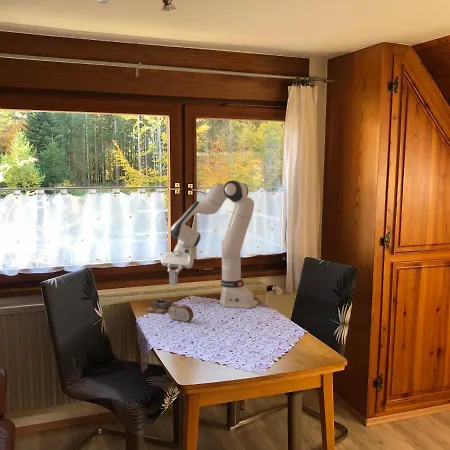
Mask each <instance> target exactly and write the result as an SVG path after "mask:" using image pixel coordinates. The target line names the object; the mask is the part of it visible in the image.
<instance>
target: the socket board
mask: <svg viewBox="0 0 450 450" xmlns="http://www.w3.org/2000/svg"><path fill="white" fill-rule="evenodd" d="M150 303H151V304H150V307H148V308H146V309H145V310H144V312H145V313H150V314H151V313H152V314H159V315H164V314H165V313H167V312H168V308H169V307H170V306H171V305H173V304H177V303H173V301H172V300H170V299H162V298H158V299H155V300H153V301H151V302H150Z"/></svg>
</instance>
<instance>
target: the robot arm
mask: <svg viewBox="0 0 450 450" xmlns="http://www.w3.org/2000/svg"><path fill="white" fill-rule="evenodd" d="M248 195H249V188H248V185H247V184H245V183H244V182H242V181H240V180H233V179H231V180H229V181H227V182H225V184H223V183H222V182H221V183H220V182H218V183H214V185H213V186H212V187H211V188H210V189H209V190H208V192H207V193H206V194H205V196H204V197H203V198H202V199H201V200H197V201H195V202H193V204H191V205H190V206H189V207H188V209H187V210H186V211H185V212H184V213H183V214H182V215H181V216H180V218H178V220H176V221H175V223H173V225H171V227H170V230H169V233H170V236H171V237H172V238H174V239H175V240H177V244H176V245H175V247H174V249H173V251H168V252H165V253H164V255H163V257H162V258H161V260H160V263H161V265H162V266H163V267H167V273H169V270H171V269H172V268H176V269H175V270H176V271H175V272H176V273H178V274H179V273H180V272H181V271H182V270H183V269H192V267H193V266H194V259H195V258H196V257H195V255H194V253H193V251H192V250H191V248H195V247H197V246H198V244H199V243H200V240H201V238H202V236H201V233H200V232H199V231H197V230H195V229H194V228H193V227H190V226H188V225H186V223H187V222H188V221H189V220H190V219H191V218H192V216H194V215H196V214H204V215H209V216H210V215H215V214H216V213H218V211H220V209H221V207H222V206H223V204H224V203H225V201H226V200H227V199H229V200H230V201H232V203H234V208H233V211H232V215H231V217H230V220H229V223H228V226H227V230H226V233H225V235H224V238H223V240H222V242H221V280H220V281H221V282H220V286H221V287H220V288H221V293H220V299H219V304H220V305H222V306H223V307H224V308H238V309H239V308H240V309H252V308H254V307H255V306H257V305H258V300H255V297H254V293H253V292H252V291H251V290H250V289H249V288H247V287H246V286H245V284H244V283H245V280H242V272H241V271H242V269H241V268H242V267H241V265H242V262H241V250H242V248H243V245H244V242H245V238H246V234H247V231H248V228H249V225H250V223H251V220H252V217H253V212H254V209H255V202H254V200H253V198H251V197H249V196H248Z"/></svg>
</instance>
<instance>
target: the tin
mask: <svg viewBox="0 0 450 450" xmlns="http://www.w3.org/2000/svg"><path fill="white" fill-rule="evenodd" d="M193 311H194V310H192V308H191V307H190V306H188V305H185V304H179V303H176V304H173V305H171V306H170V307H169V308H168V311H167V312H168V316H169V317H170V318H171V319H172V320H174V321H178V322H184V323H187V322H191V321H192V320H193V318H194V312H193Z"/></svg>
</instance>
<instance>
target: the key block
mask: <svg viewBox="0 0 450 450" xmlns="http://www.w3.org/2000/svg"><path fill="white" fill-rule="evenodd" d="M170 269H171V270H169V272H168V276H169V277H168V281H169V283H168V284H169V285H170V286H177V285H178V284H179V282H178V281H179V278H178V277H179V276H178V274H179V273H176V272H175V271H176V269H174V268H173V269H172V268H170Z"/></svg>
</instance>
